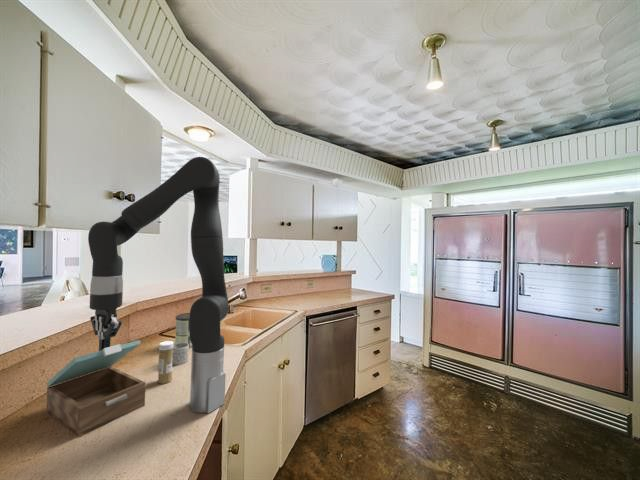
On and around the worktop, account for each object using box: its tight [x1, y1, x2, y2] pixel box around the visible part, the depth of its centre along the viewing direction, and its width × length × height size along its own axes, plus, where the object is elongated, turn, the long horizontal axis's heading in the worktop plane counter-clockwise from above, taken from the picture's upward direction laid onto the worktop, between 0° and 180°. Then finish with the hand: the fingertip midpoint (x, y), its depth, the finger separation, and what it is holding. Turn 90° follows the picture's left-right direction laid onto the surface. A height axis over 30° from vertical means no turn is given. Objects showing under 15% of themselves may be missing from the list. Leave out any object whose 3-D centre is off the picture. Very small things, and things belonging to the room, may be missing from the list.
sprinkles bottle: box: [157, 340, 174, 385], centre depth 99 cm, size 5×5×14 cm
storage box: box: [46, 366, 146, 438], centre depth 82 cm, size 21×16×7 cm
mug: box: [172, 343, 190, 366], centre depth 113 cm, size 10×7×7 cm
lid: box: [46, 339, 141, 388], centre depth 83 cm, size 21×16×2 cm
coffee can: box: [174, 312, 192, 349], centre depth 133 cm, size 10×10×14 cm
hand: (104, 351), depth 81 cm, fingers closed
